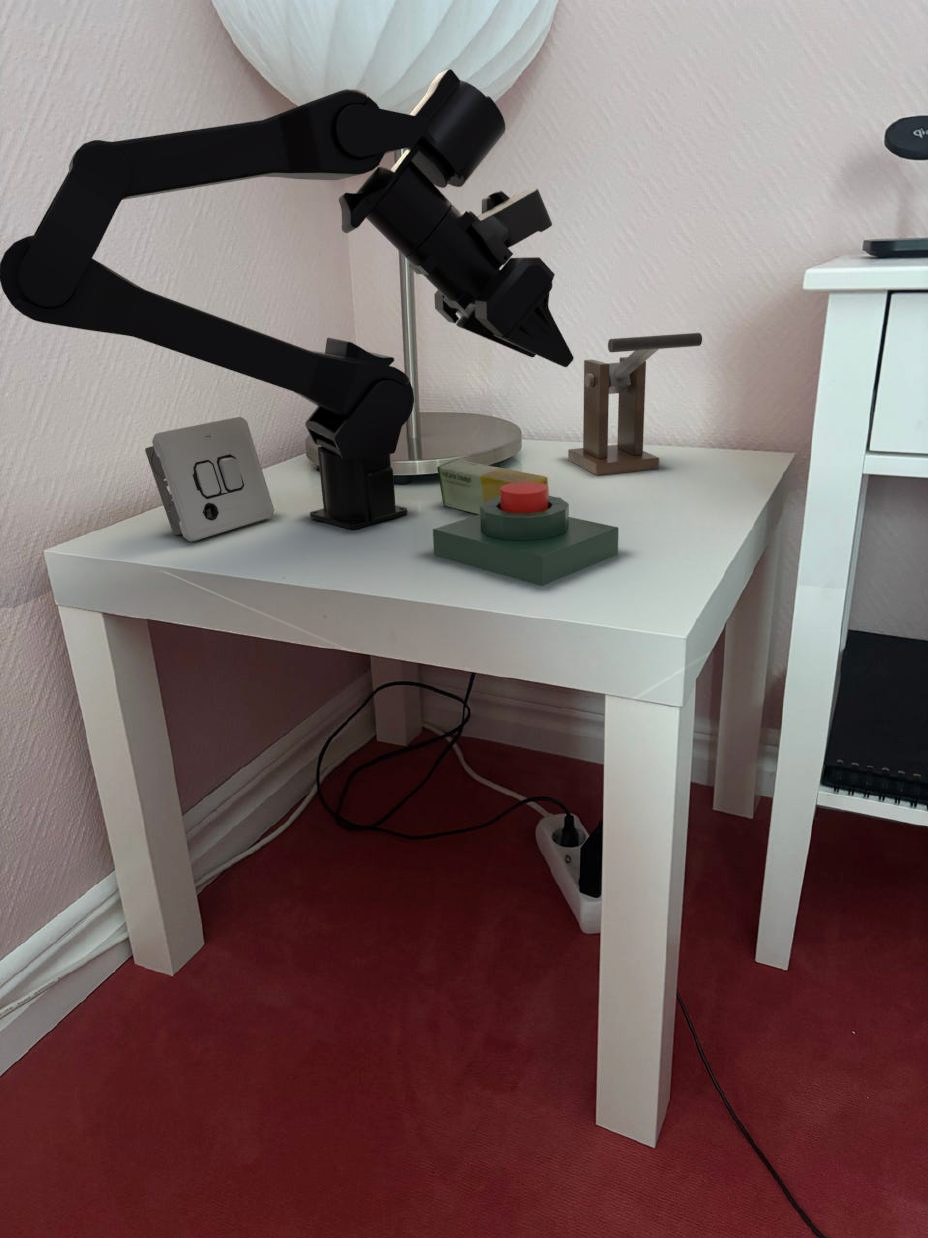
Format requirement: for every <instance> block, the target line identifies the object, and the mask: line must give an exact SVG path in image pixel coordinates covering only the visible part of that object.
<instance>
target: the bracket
mask: <svg viewBox="0 0 928 1238" xmlns="http://www.w3.org/2000/svg"><path fill="white" fill-rule="evenodd" d="M627 357H628V356H622V357H621V356H620V357H619V362H618V363H620V362H623V361H624V360H625V359H626V358H627ZM646 373H647V360H646V361H645V362H643V363H642V364H641V365H640V366H639V367H638V368H636V369H635V370H634V371H633V372H632V373H630V374H629V376H630V382H631V385H630V386H628V387H627V388H626V389H625V390H624V391H622V392H621V393H618V402H617V403H618V404H617V405H618V406H617V407H618V408H617V441H616V442H617V443H616V444H610V445H609V407H610V406H609V404H610V402H609V401H610V394H609V364H608V363H607V362H603V361H600V360H596V359H584V361H583V420H582V421H583V427H582V428H583V432H582V435H583V436H582V439H583V440H582V447H579V448H578V447H577V448H568V449H567V456H568V457H567V459H568V461H569V462H571V463H573V464H574V465H577V466H579V467H581V468H583V469H584V470H586V471H587V472H589V473H591V474H593V475H595V476H606V475H615V474H624V473H634V472H643V471H652V470H659V468H660V457H658V456H657V455H654V454H652V453H649V452H647V451H645V450H644V432H645V431H644V429H645V427H644V426H645V403H646V401H645V400H646V375H647V374H646Z"/></svg>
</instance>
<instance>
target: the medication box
mask: <svg viewBox="0 0 928 1238" xmlns="http://www.w3.org/2000/svg"><path fill="white" fill-rule="evenodd" d="M436 469H437V470H436V471H437V475H438V482H439V488H440V493H441V501H442V506H443V507H449V508H452V509H456V510H460V511H464V512H469V513H471V514H476V515H479V514H480V507H481V506H482V504H483V503H484V502H485V501H487V500H491V499H494V498H497V497H500V488H501V486H503V485H506V484H509V483H515V482H537V483H542V484H545V485H547V486H548V487H549V481H548V476H545V475H540V474H534V473H529V472H524V471H519V470H514V469H508V468H503V467H497V466H493V465H487V464H483V463H482V464H481V463H476V462H471V461H466V460H462V459H459V458H456V459H454V460H450V461H446V462H445V463H443V464H440V465H438V466H436ZM548 496H550V489H549V488H548Z"/></svg>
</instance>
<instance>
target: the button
mask: <svg viewBox="0 0 928 1238" xmlns="http://www.w3.org/2000/svg"><path fill="white" fill-rule="evenodd" d="M548 489H549V485H548V486H547V485H545V484H542V483H537V482H515V483H509V484H506V485H503V486H501V488H500V508H501V510H502V511H506V512H513V513H530V512H539V511H544V510H547V509H548Z"/></svg>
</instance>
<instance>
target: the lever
mask: <svg viewBox="0 0 928 1238" xmlns="http://www.w3.org/2000/svg"><path fill="white" fill-rule="evenodd" d="M702 343H703V335H702V333H701V332H690V333H688V332H687V333H677V334H675V333H674V334H661V335H648V336H647V335H645V336H632V337H620V338H616V337H615V338H609V339H608V342H607V349H608V352H609V353H622V352H623V353H624V352H632V353H630V355H628V356H626V357H627V358H626V359H625V360H624V361H623V362H620V361H619V362H620V363H619V362H609V363H608V364H609V395H613V394H614V395H615V394H619V393H621V392H622V391H624V390H625V389H626V388H627V387H628V386H630V385H631V382H630V376H629V374H630V373H632V372H633V371H634V370H635V369H636V368H638V367H639V366H640V365H641V364H642V363H643V362H645V361H646V362H647V360H648V359H649V358H651V357H652V356H653V355H654V354H656V352H658V351H659V350H663V349H664V350H665V349H678V348H692V347H700V346H701V345H702Z"/></svg>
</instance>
